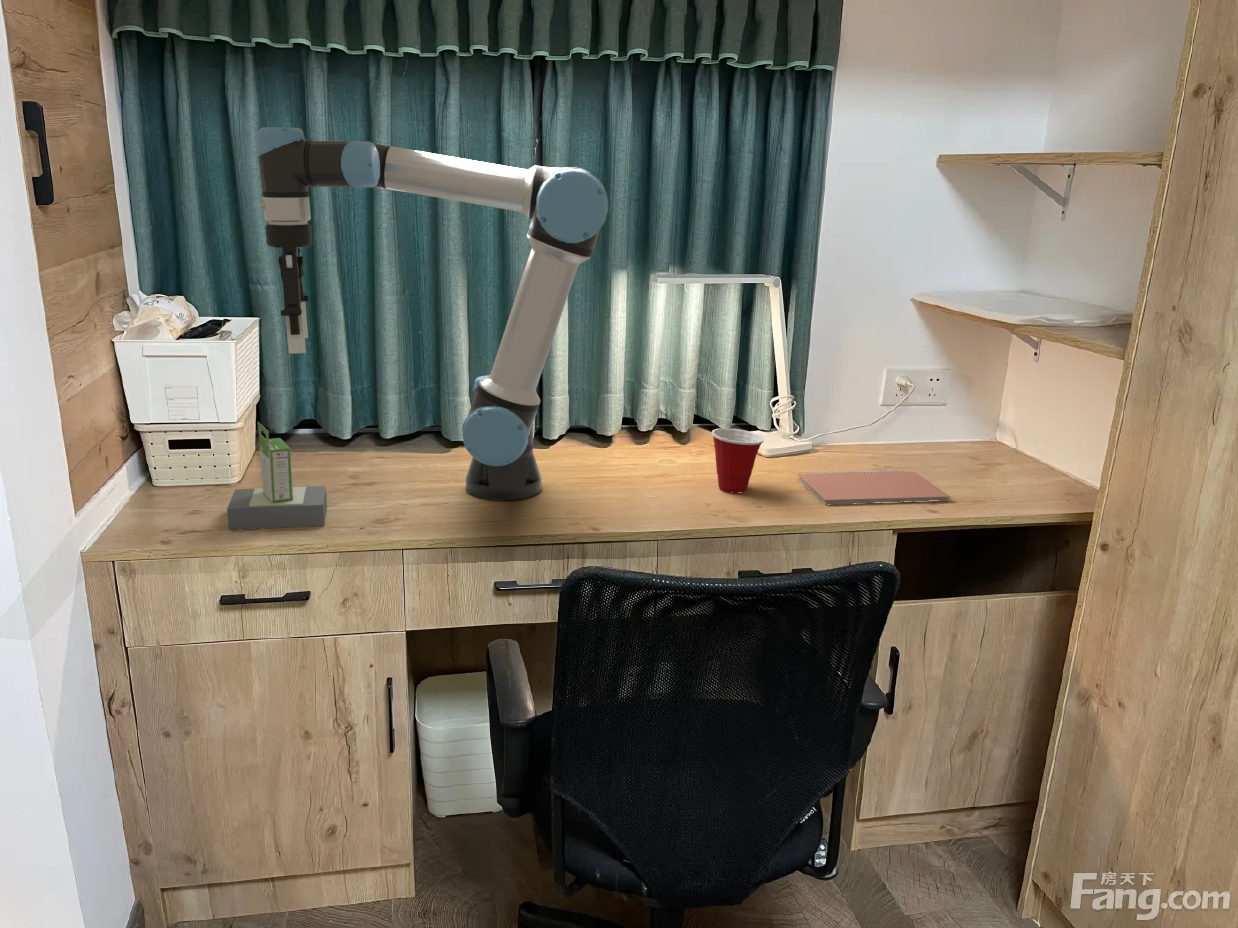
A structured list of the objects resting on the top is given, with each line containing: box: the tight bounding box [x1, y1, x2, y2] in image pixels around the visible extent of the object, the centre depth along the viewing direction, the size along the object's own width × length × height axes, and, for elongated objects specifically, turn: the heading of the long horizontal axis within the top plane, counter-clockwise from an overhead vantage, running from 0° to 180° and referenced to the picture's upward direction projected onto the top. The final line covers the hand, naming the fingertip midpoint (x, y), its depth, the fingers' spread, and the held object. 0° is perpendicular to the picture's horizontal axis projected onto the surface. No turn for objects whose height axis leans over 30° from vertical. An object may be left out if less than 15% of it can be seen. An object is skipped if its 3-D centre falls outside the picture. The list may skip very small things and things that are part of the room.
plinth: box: [226, 485, 328, 531], centre depth 176 cm, size 16×10×4 cm, turn 103°
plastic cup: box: [711, 427, 765, 494], centre depth 200 cm, size 11×11×12 cm
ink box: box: [257, 421, 294, 502], centre depth 173 cm, size 7×4×13 cm, turn 32°
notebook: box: [797, 469, 951, 505], centre depth 204 cm, size 27×17×2 cm, turn 101°
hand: (298, 345), depth 173 cm, fingers open, 13 cm apart
